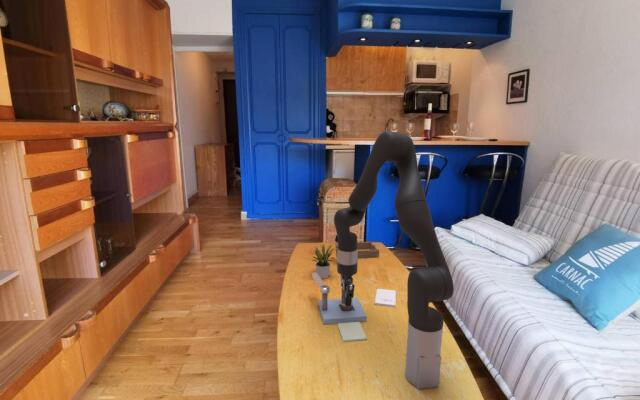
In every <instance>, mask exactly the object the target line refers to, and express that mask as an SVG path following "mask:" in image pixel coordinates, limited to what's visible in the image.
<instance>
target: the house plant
mask: <svg viewBox="0 0 640 400" xmlns="http://www.w3.org/2000/svg"><path fill="white" fill-rule="evenodd" d="M335 244H336V242H335V243H331V245H329V246H328V247H327V249H326V247H325V244H324V243H323V242H321V244H320V243H319V242H318V245H319V246H320V249H321V251H320V250H319V248H318V247H317V246H316V245H314V244H312V246H313V247H314V249H315V251H314V256H313V255H311V257H312V258H314V259H312V260H311V261H312V262H315V270H316V272H317V274H318V275H319V277H320V278H321V279H322V280H323V279H327V278H329V274H330V268H331V262H334V260H336V259H335V257H331V255H332V254H333V253H334V252H335V251H336V248H335V247H333V246H334V245H335ZM332 247H333V248H332Z"/></svg>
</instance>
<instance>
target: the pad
mask: <svg viewBox="0 0 640 400" xmlns="http://www.w3.org/2000/svg"><path fill="white" fill-rule="evenodd" d="M337 326H338V330H339V333H340V337H341V339H342V342H343V343H345V342H357V341H358V342H359V341H367V340H368V339H367V335H366V334H365V331H364V329H363V327H362V325H361V322H349V323H337Z"/></svg>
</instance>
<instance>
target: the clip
mask: <svg viewBox="0 0 640 400" xmlns="http://www.w3.org/2000/svg"><path fill="white" fill-rule="evenodd" d="M311 277H312V278H313V280H314V281H315V283H316V284H317V285H318V287H319V292H320V293H321V294H322V293H323V294H327V293H328V294H329V293H330V291H331V288H330V286H329V285H327V284H326V283H325V282H324V280H323V279H322V278H320V277H319V275H318V274H317V271H314V272H312V273H311Z"/></svg>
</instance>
